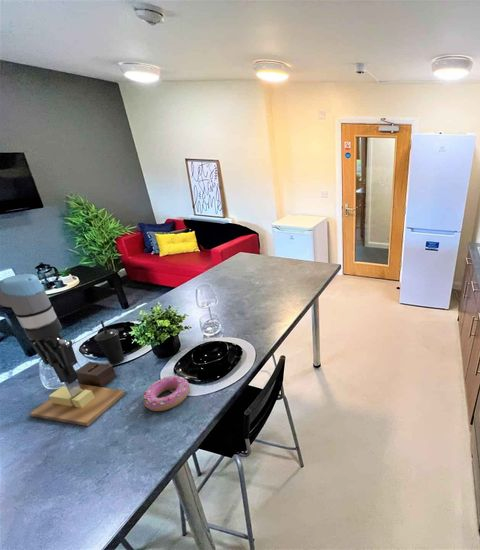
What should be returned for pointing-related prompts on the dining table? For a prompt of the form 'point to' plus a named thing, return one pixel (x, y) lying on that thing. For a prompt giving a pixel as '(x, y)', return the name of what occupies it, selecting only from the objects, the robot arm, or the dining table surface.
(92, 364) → the knife block
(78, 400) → the butter pat
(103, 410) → the board
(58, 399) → the butter stick
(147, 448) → the dining table surface
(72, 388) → the knife
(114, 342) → the drinking cup
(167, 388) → the donut
